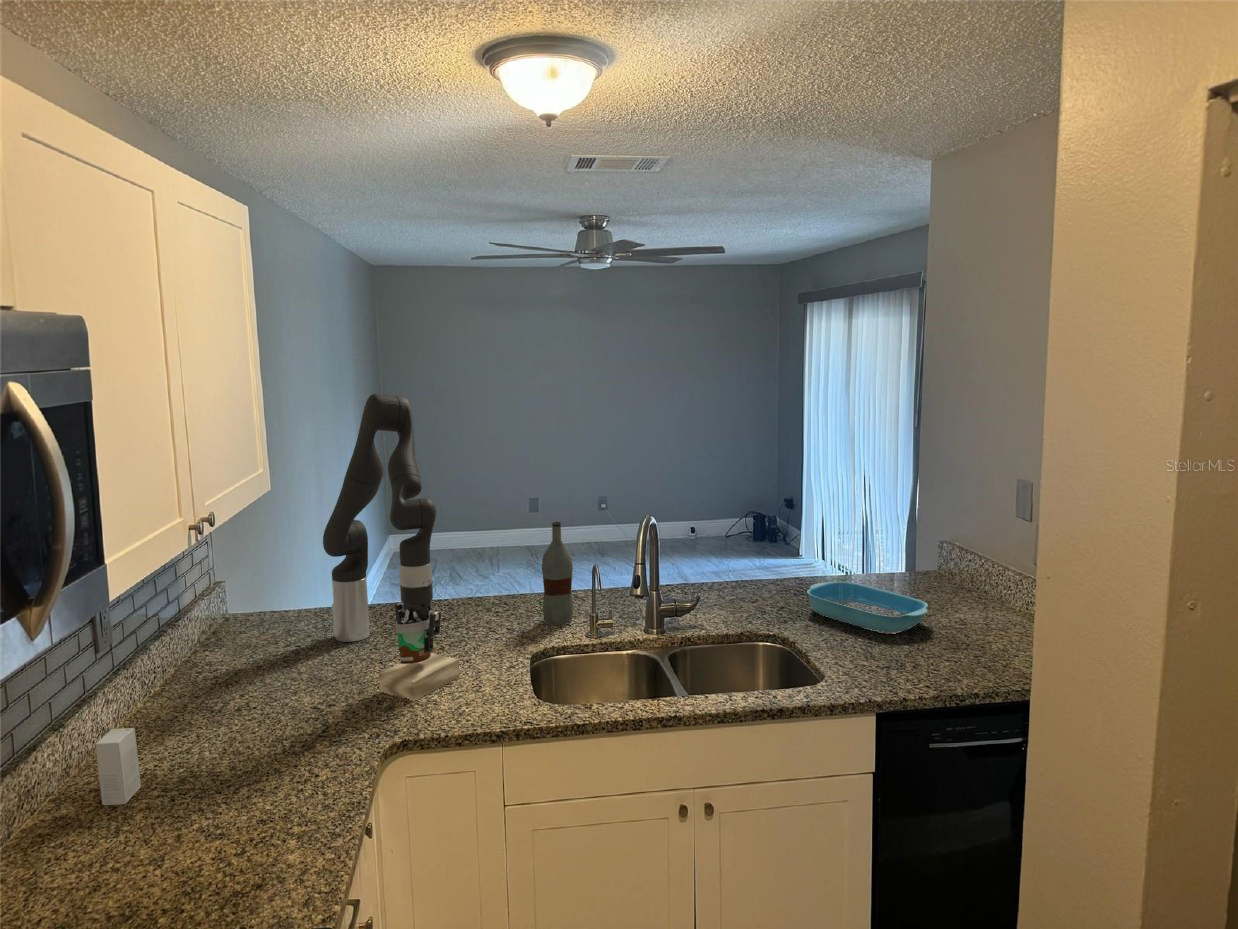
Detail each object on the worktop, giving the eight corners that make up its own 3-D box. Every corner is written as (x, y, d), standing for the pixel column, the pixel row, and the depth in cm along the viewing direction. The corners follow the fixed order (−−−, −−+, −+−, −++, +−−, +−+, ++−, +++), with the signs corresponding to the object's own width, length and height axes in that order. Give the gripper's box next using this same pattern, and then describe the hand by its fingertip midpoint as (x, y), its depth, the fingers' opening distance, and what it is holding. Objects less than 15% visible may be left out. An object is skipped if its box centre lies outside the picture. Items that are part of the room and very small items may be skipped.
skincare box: (117, 788, 156) (111, 728, 155) (141, 787, 157) (135, 727, 155) (100, 806, 150) (94, 743, 149) (125, 805, 151) (119, 742, 149)
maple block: (379, 693, 199) (378, 673, 198) (426, 670, 213) (425, 651, 212) (414, 702, 194) (413, 682, 193) (459, 678, 208) (459, 659, 207)
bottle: (556, 614, 255) (554, 518, 251) (580, 619, 250) (578, 521, 246) (536, 622, 248) (534, 523, 243) (560, 628, 242) (558, 527, 238)
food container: (421, 668, 195) (419, 626, 194) (397, 666, 197) (395, 625, 195) (444, 649, 207) (442, 610, 206) (421, 648, 209) (419, 609, 207)
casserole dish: (942, 626, 242) (943, 603, 241) (900, 645, 228) (901, 619, 227) (835, 598, 270) (836, 576, 269) (792, 612, 256) (792, 590, 255)
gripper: (383, 580, 201) (387, 647, 203) (424, 590, 193) (427, 660, 195) (407, 573, 207) (410, 638, 209) (448, 582, 199) (451, 650, 201)
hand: (419, 648), depth 202 cm, fingers closed on food container, 6 cm apart
